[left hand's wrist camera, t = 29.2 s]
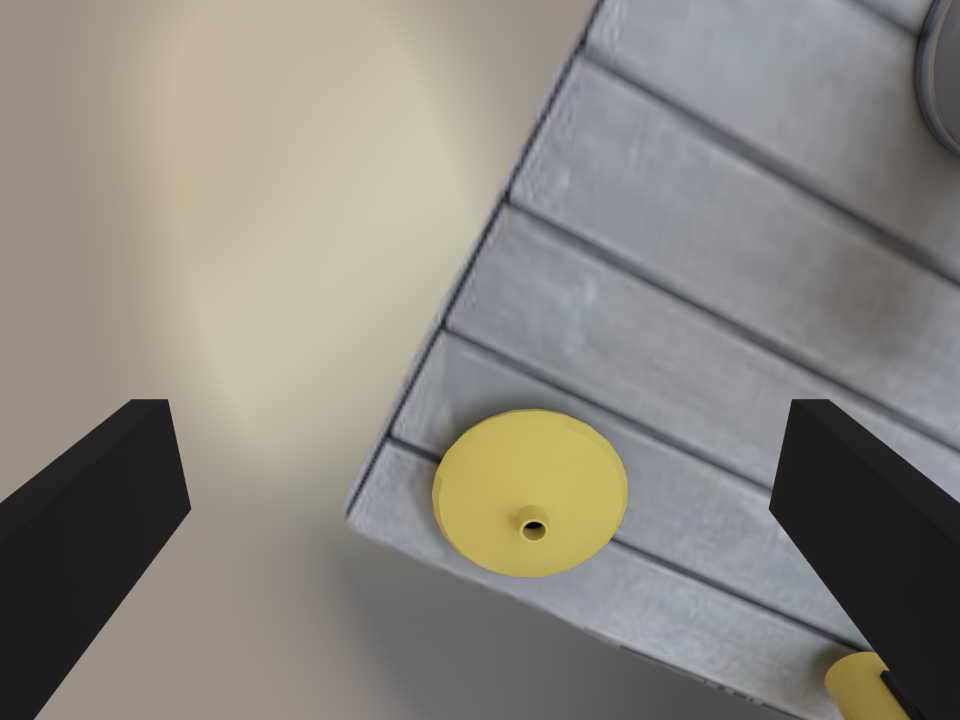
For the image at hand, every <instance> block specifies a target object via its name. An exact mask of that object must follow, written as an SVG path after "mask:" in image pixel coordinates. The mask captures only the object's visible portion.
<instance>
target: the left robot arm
mask: <svg viewBox="0 0 960 720" xmlns="http://www.w3.org/2000/svg"><path fill="white" fill-rule="evenodd" d="M915 83H916V93H917V98H918V103H919V106H920V109H921V112H922V115H923V117H924V120H925V122H926V124H927V126H928V127H929V129H930V130H931V132H932V133H933V135H934V136H935V137H936V138H937V140H938V141H939V142H940V143H941V144H942V145H944V146H945V147H946V148H947V149H948V150H950V151H951V152H953V153H954V154H956V155H958V156H960V0H935V2H934V4H933V5H932V8H931V10H930V12H929V15H928V17H927V19H926V22H925V25H924V28H923V31H922V34H921V38H920V42H919V46H918V52H917V57H916V68H915ZM190 510H191V505H190V501H189V496H188V491H187V487H186V482H185V477H184V473H183V468H182V463H181V459H180V454H179V449H178V444H177V440H176V435H175V431H174V426H173V421H172V416H171V412H170V407H169V402H168V399H131V400H130V401H129V402H128V403H126V404H125V405H124V406H123V407H121V408H120V409H119V410H117V411H116V412H115V413H114V414H112V415H111V416H110V417H109V418H107V419H106V420H105V421H104V422H102V423H101V424H100V425H98V426H97V427H96V428H95V429H93V430H92V431H91V432H90V433H88V434H87V435H86V436H85V437H83V438H82V439H81V440H80V441H78V442H77V443H76V444H74V445H73V446H72V447H71V448H69V449H68V450H67V451H66V452H64V453H63V454H62V455H61V456H59V457H58V458H57V459H55V460H54V461H53V462H52V463H50V464H49V465H48V466H47V467H45V468H44V469H43V470H42V471H40V472H39V473H38V474H37V475H35V476H34V477H33V478H32V479H30V480H29V481H28V482H26V483H25V484H24V485H23V486H21V487H20V488H19V489H18V490H16V491H15V492H14V493H13V494H11V495H10V496H9V497H7V498H6V499H5V500H4V501H2V502H1V503H0V720H34V719H35V717H36V716H37V715H38V713H39V712H40V711H41V709H42V708H43V707H44V705H45V704H46V703H47V701H48V700H49V699H50V697H51V696H52V695H53V693H54V692H55V691H56V689H57V688H58V687H59V685H60V684H61V683H62V681H63V680H64V679H65V677H66V676H67V675H68V673H69V672H70V671H71V669H72V668H73V667H74V665H75V664H76V662H77V661H78V660H79V658H80V657H81V656H82V654H83V653H84V652H85V650H86V649H87V648H88V646H89V645H90V644H91V642H92V641H93V640H94V638H95V637H96V636H97V634H98V633H99V632H100V630H101V629H102V628H103V626H104V625H105V624H106V622H107V621H108V620H109V618H110V617H111V616H112V614H113V613H114V612H115V610H116V609H117V608H118V606H119V605H120V604H121V602H122V601H123V600H124V598H125V597H126V596H127V594H128V593H129V592H130V590H131V589H132V588H133V586H134V585H135V584H136V582H137V581H138V580H139V578H140V577H141V576H142V574H143V573H144V572H145V570H146V569H147V568H148V566H149V565H150V564H151V562H152V561H153V560H154V558H155V557H156V556H157V554H158V553H159V552H160V550H161V549H162V548H163V546H164V545H165V544H166V542H167V541H168V540H169V538H170V537H171V536H172V534H173V533H174V531H175V530H176V529H177V528H178V526H179V525H180V523H181V522H182V521H183V520H184V518H185V517H186V516H187V514H188V513H189V512H190ZM769 510H770V512H771V513H772V514H773V516H774V517H775V518H776V520H777V521H778V522H779V524H780V525H781V526H782V528H783V529H784V530H785V532H786V533H787V534H788V536H789V537H790V538H791V540H792V541H793V542H794V544H795V545H796V546H797V548H798V549H799V550H800V552H801V553H802V554H803V556H804V557H805V558H806V560H807V561H808V562H809V564H810V565H811V566H812V568H813V569H814V570H815V572H816V573H817V574H818V576H819V577H820V578H821V580H822V581H823V582H824V584H825V585H826V586H827V588H828V589H829V590H830V592H831V593H832V594H833V596H834V597H835V598H836V600H837V601H838V602H839V604H840V605H841V606H842V608H843V609H844V610H845V612H846V613H847V614H848V616H849V617H850V618H851V620H852V621H853V622H854V624H855V625H856V626H857V628H858V629H859V630H860V632H861V633H862V634H863V636H864V637H865V638H866V640H867V641H868V642H869V644H870V645H871V646H872V648H873V649H874V650H875V652H876V653H877V654H878V656H879V657H880V658H881V660H882V661H883V662H884V664H885V665H886V667H887V668H888V669H889V671H890V672H891V673H892V675H893V676H894V677H895V679H896V680H897V681H898V683H899V684H900V685H901V687H902V688H903V689H904V691H905V692H906V693H907V695H908V696H909V697H910V699H911V700H912V701H913V703H914V704H915V705H916V707H917V708H918V709H919V711H920V712H921V713H922V715H923V716H924V717H925V719H926V720H960V503H959V502H958V501H956V500H955V499H954V498H953V497H951V496H950V495H949V494H947V493H946V492H945V491H944V490H942V489H941V488H940V487H939V486H937V485H936V484H935V483H934V482H932V481H931V480H930V479H929V478H927V477H926V476H925V475H923V474H922V473H921V472H920V471H918V470H917V469H916V468H915V467H913V466H912V465H911V464H910V463H908V462H907V461H906V460H905V459H903V458H902V457H901V456H899V455H898V454H897V453H896V452H894V451H893V450H892V449H891V448H889V447H888V446H887V445H886V444H884V443H883V442H882V441H881V440H879V439H878V438H877V437H875V436H874V435H873V434H872V433H870V432H869V431H868V430H867V429H865V428H864V427H863V426H862V425H860V424H859V423H858V422H856V421H855V420H854V419H853V418H851V417H850V416H849V415H848V414H846V413H845V412H844V411H843V410H841V409H840V408H839V407H838V406H836V405H835V404H834V403H832V402H831V401H830V400H829V399H792V402H791V407H790V412H789V416H788V421H787V426H786V430H785V435H784V440H783V444H782V449H781V454H780V459H779V463H778V468H777V473H776V477H775V482H774V487H773V491H772V496H771V501H770V505H769Z"/></svg>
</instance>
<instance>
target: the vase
mask: <svg viewBox="0 0 960 720" xmlns="http://www.w3.org/2000/svg"><path fill="white" fill-rule="evenodd" d="M627 500H628V480H627V477H626V474H625V471H624V467H623V464H622V461H621V459H620V458H619V456H618V455H617V453H616V452H615V450H614V449H613V447H612V446H611V444H610V443H609V442H608V441H607V440H606V439H605V438H604V437H602V436H601V435H600V434H599V433H598V432H596V431H595V430H594V429H593V428H591V427H590V426H589V425H587V424H586V423H584V422H582V421H580V420H577V419H575V418H573V417H571V416H568V415H566V414H564V413H561V412H555V411H549V410H543V409H537V408H536V409H522V410H511V411H508V412H504V413H501V414H498V415H495V416H492V417H488V418H486V419H485V420H483V421H482V422H480V423H478V424H477V425H475V426H473V427H472V428H470V429H468V430H467V431H466V432H465V433H464V434H463V435H462V436H461V437H460V438H459V439H458V440H457V441H456V442H455V443H454V444H453V446H452V447H451V448H450V449H449V450H448V451H447V452H446V454H445V456H444V458H443V460H442V462H441V463H440V465H439V467H438V469H437V471H436V474H435V479H434V485H433V490H432V501H433V509H434V516H435V518H436V520H437V522H438V525H439V527H440V529H441V531H442V533H443V535H444V537H445V538H446V539H447V540H448V541H449V542H450V544H451V545H452V546H453V547H454V548H455V549H456V551H457V552H459V553H460V554H461V555H463V556H464V557H466V558H467V559H469V560H470V561H472V562H473V563H475V564H476V565H478V566H481V567H483V568H486V569H489V570H491V571H494V572H496V573H499V574H503V575H510V576H516V577H523V578H524V577H540V576H548V575H552V574H556V573H559V572H563V571H566V570H569V569H571V568H573V567H575V566H577V565H578V564H580V563H582V562H584V561H586V560H588V559H589V558H591V557H592V556H593V555H594V554H595V553H597V552H598V551H599V550H600V549H601V548H602V547H603V546H605V545H606V544H607V543H608V542H609V540H610V539H611V537H612V536H613V534H614V533H615V531H616V530H617V529H618V527H619V526H620V524H621V521H622V518H623V515H624V512H625V509H626V506H627Z"/></svg>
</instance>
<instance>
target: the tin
mask: <svg viewBox="0 0 960 720" xmlns="http://www.w3.org/2000/svg"><path fill="white" fill-rule="evenodd" d="M883 670H887V671H889V669H888V668H887V667H886V665H885V664H884V662H883V661H882V660H881V658H880V657H879V656H878V654H877V653H874V652H859V653H854V654H851V655H848V656H846V657H843V658H842V659H840V660H838V661H837V662H836V663H835V664H833V665H832V666H831V668H830V669H829V670H828V672H827V674H826V676H825V687H826V690H827V691H828V693H829V695H830V696H831V698H832V700H833V701H834V703H835V704H836V706H837V708H838V709H839V711H840V713H841V714H842V716H843V717H844V719H845V720H911V719H910V718H909V716H908V715H907V713H906V712H905V711H904V709H903V708H902V706H901V705H900V704H899V702H898V701H897V700H896V698H895V697H894V695H893V694H892V693H891V691H890V690H889V689H888V687H887V686H886V684H885V683H884V682H883V680H882V679H881V677H880V674H881V673H882V671H883Z"/></svg>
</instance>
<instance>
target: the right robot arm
mask: <svg viewBox="0 0 960 720" xmlns="http://www.w3.org/2000/svg"><path fill="white" fill-rule="evenodd" d="M880 677H881V679H882V680H883V682H884V683H885V684H886V686H887V687H888V689H889V690H890V691H891V693H892V694H893V695H894V697H895V698H896V700H897V701H898V702H899V704H900V705H901V706H902V708H903V709H904V711H905V712H906V713H907V715H908V716H909V718H910V719H911V720H926V719H925V717H924V716H923V715H922V713H921V712H920V711H919V709H918V708H917V707H916V705H915V704H914V703H913V701H912V700H911V699H910V697H909V696H908V695H907V693H906V692H905V691H904V689H903V688H902V687H901V685H900V684H899V683H898V681H897V680H896V679H895V677H894V676H893V675H892V673H891V672H890V671H887V670H883V671H882V673H881V674H880Z"/></svg>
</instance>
